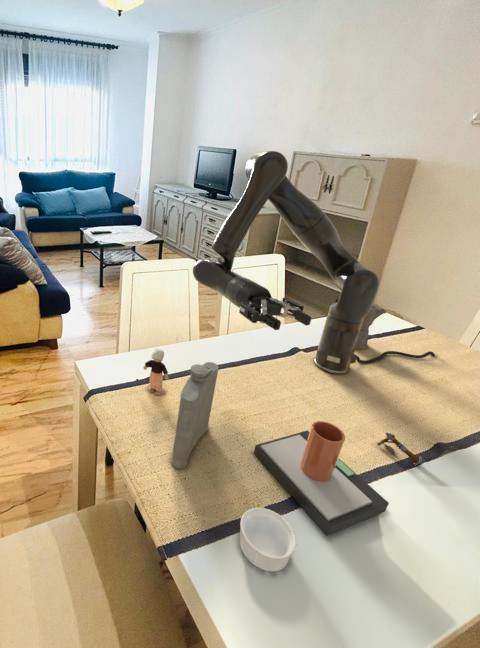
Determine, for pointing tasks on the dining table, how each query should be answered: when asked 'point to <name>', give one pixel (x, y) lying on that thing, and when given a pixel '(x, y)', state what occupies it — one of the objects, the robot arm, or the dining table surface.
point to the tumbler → (322, 451)
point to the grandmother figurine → (157, 372)
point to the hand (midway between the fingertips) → (294, 323)
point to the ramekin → (266, 539)
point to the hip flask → (194, 411)
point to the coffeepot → (367, 325)
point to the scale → (320, 486)
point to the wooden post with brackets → (401, 447)
